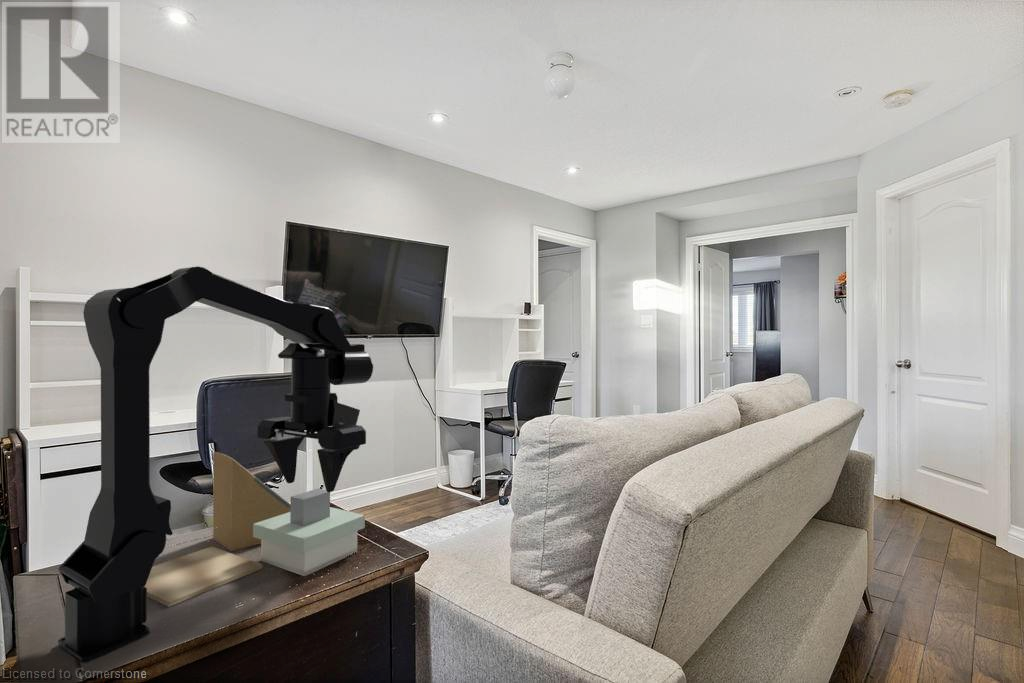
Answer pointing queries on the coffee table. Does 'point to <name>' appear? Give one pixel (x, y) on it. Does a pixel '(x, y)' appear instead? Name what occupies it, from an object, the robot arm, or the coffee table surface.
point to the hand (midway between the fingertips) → (310, 487)
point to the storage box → (308, 555)
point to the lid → (309, 523)
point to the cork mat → (195, 574)
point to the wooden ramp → (240, 503)
